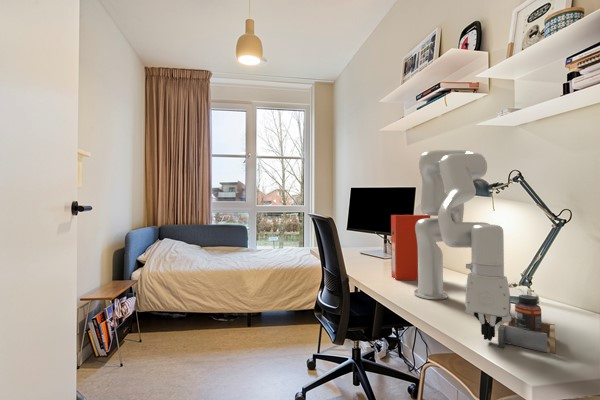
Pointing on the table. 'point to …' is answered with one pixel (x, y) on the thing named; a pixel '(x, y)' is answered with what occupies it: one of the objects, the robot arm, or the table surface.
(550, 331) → the caddy
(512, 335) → the grey l-shaped block
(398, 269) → the file binder
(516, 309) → the supplement bottle
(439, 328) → the table surface
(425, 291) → the robot arm
